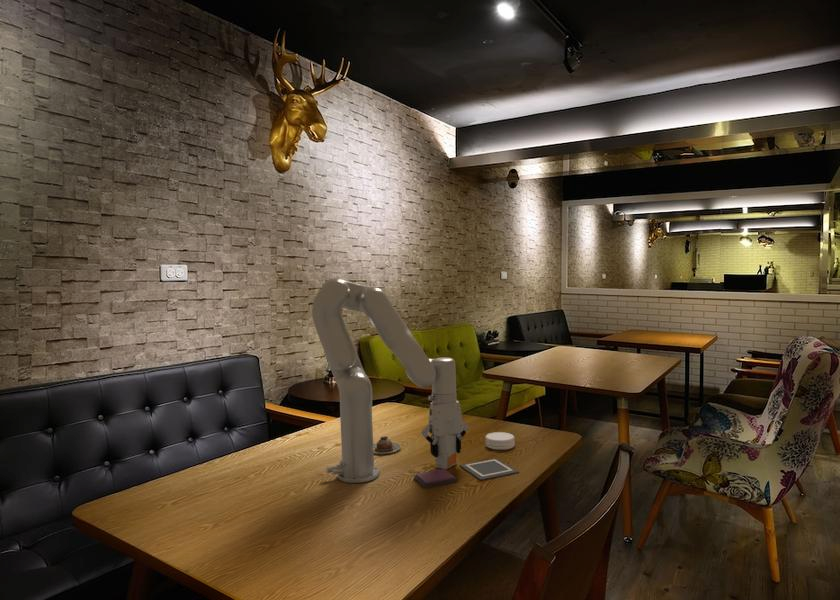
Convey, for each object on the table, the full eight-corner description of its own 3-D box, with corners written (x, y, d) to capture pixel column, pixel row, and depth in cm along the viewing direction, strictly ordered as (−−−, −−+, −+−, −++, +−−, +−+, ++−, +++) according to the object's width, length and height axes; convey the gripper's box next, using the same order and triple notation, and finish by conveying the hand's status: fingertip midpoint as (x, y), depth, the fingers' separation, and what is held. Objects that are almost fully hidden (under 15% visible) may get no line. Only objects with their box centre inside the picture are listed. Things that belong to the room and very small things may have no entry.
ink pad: (424, 488, 149) (424, 483, 149) (414, 478, 157) (413, 473, 157) (456, 481, 153) (456, 476, 153) (444, 472, 161) (444, 467, 161)
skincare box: (446, 470, 163) (445, 431, 162) (435, 467, 165) (434, 429, 165) (457, 464, 168) (456, 426, 167) (446, 461, 170) (445, 424, 170)
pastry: (400, 456, 178) (400, 442, 178) (364, 457, 178) (364, 443, 178) (402, 444, 190) (401, 432, 190) (368, 445, 190) (368, 432, 190)
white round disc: (513, 441, 189) (513, 431, 189) (515, 450, 179) (515, 440, 179) (485, 441, 190) (485, 431, 190) (485, 450, 180) (485, 440, 180)
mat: (480, 480, 154) (480, 478, 154) (460, 466, 166) (459, 464, 166) (518, 472, 159) (518, 470, 159) (496, 459, 171) (496, 457, 171)
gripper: (423, 403, 159) (425, 462, 160) (474, 396, 165) (476, 453, 166) (413, 398, 166) (415, 454, 166) (463, 392, 172) (465, 446, 173)
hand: (446, 453), depth 166 cm, fingers closed on skincare box, 7 cm apart
